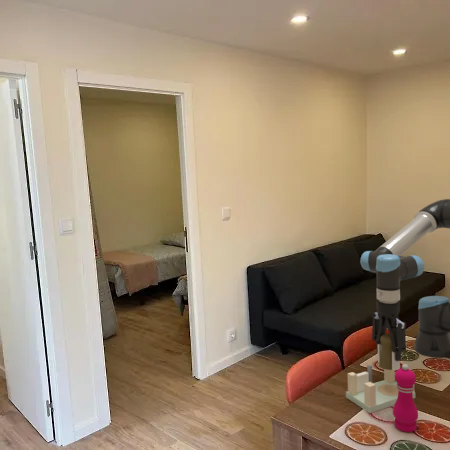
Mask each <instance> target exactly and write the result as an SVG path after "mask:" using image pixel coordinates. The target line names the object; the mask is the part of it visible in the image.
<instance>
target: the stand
mask: <svg viewBox="0 0 450 450" xmlns="http://www.w3.org/2000/svg"><path fill="white" fill-rule="evenodd" d="M366 368H367V369H366V370H367V371H366V372H367V373H369V382H368V383H364V391H362V392H359V393H357V394H355V395H351V394H349V393H348V390H347V391H345V398H346V399H348V400H350V402H352V403H354V404H355V405H357V406H358V407H360V408H362V409H363V410H364V411H366V412H368V413H369V414H372V413H375V412H378V411H381V410H384V409H387V408H390V407H394V404H395V402H396V400H397V398H398V390H397V388H396V387H397V385H396V384H397V382H396V380H395V373H396V370H387V369H383V377H384V379H383V380H380V381H377V382H373V366H372V365H367V367H366ZM412 395H413V400H414V399H416V392H415V390H414V391H413V394H412Z"/></svg>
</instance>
